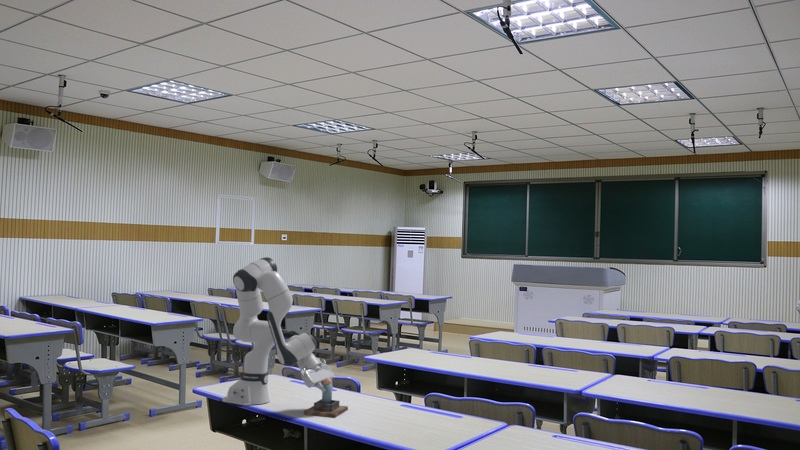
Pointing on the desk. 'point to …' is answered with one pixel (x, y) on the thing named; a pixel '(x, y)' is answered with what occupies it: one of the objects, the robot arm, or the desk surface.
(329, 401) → the peach-tipped grey cylinder
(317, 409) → the jig
